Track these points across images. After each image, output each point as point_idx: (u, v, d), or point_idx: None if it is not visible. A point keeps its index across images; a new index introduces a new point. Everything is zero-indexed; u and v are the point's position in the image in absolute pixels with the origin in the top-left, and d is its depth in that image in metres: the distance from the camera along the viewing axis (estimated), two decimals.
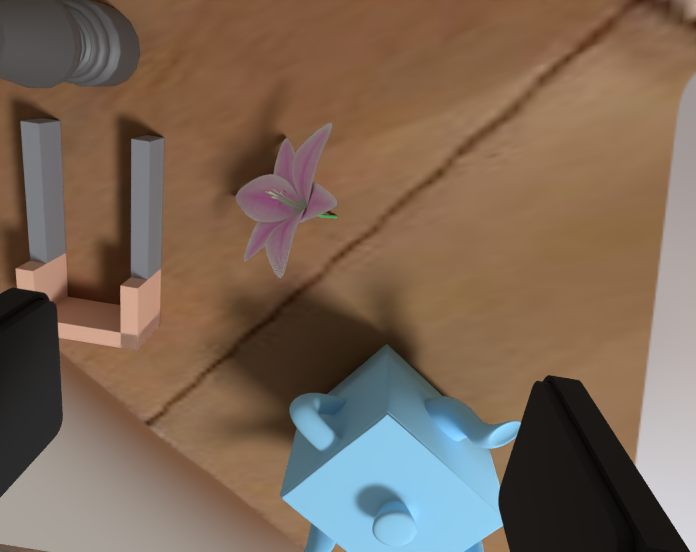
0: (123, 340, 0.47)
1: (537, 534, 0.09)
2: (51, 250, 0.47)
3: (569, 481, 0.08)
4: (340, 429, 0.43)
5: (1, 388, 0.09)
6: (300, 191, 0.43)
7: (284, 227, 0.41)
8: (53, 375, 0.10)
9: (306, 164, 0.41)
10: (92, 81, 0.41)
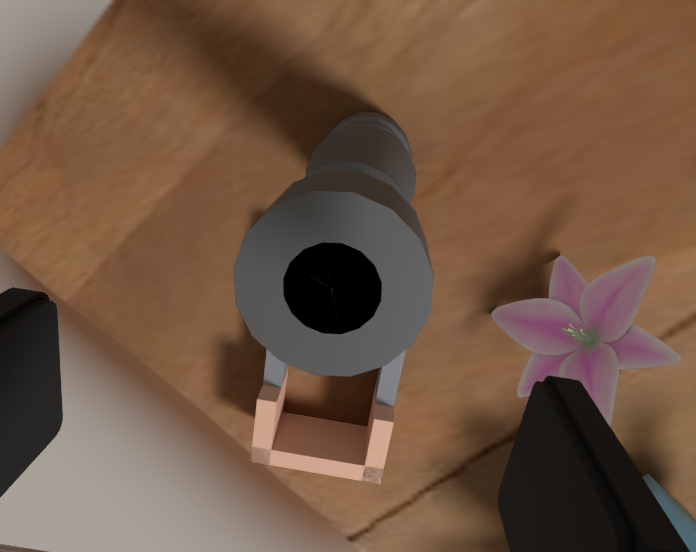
0: (366, 473, 0.42)
1: (537, 534, 0.09)
2: (284, 372, 0.43)
3: (569, 481, 0.08)
4: None
5: (1, 388, 0.09)
6: (590, 322, 0.38)
7: (584, 369, 0.36)
8: (53, 375, 0.10)
9: (614, 299, 0.36)
10: None
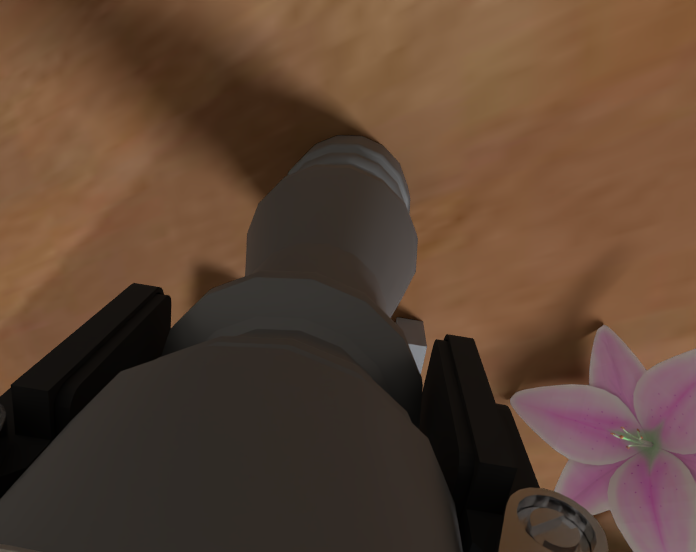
0: None
1: None
2: None
3: (443, 420, 0.09)
4: None
5: None
6: (648, 421, 0.28)
7: (646, 492, 0.26)
8: None
9: (687, 397, 0.26)
10: None
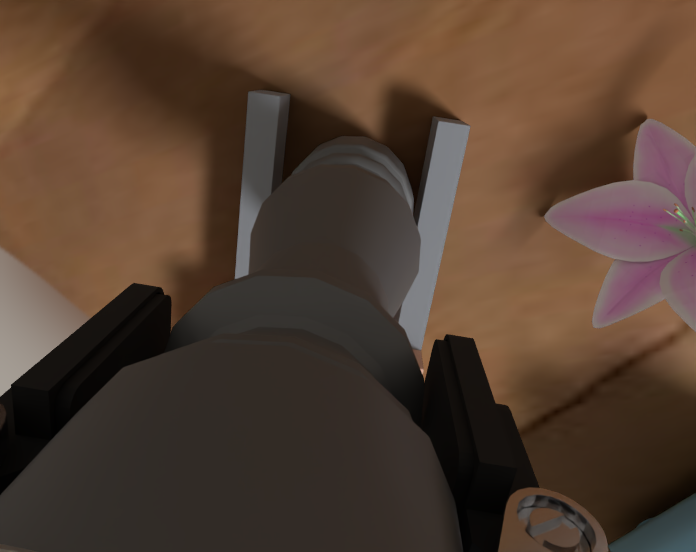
0: None
1: None
2: None
3: (443, 420, 0.09)
4: None
5: None
6: None
7: None
8: None
9: None
10: None
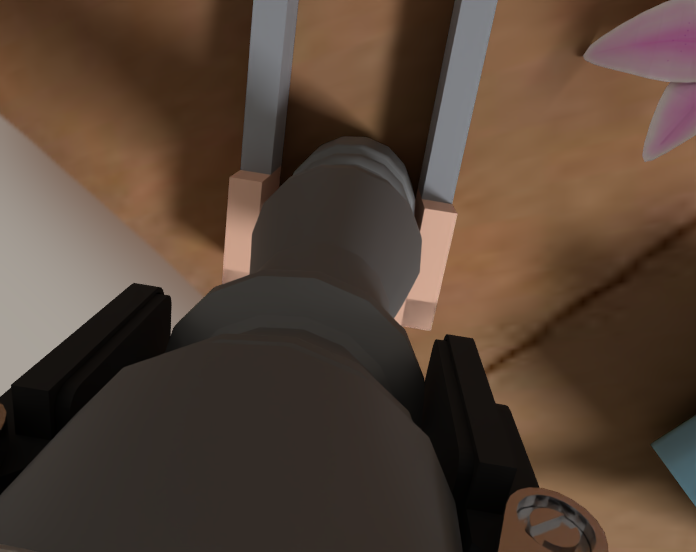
0: (408, 312, 0.26)
1: None
2: (275, 152, 0.26)
3: (443, 420, 0.09)
4: None
5: None
6: None
7: None
8: None
9: None
10: None
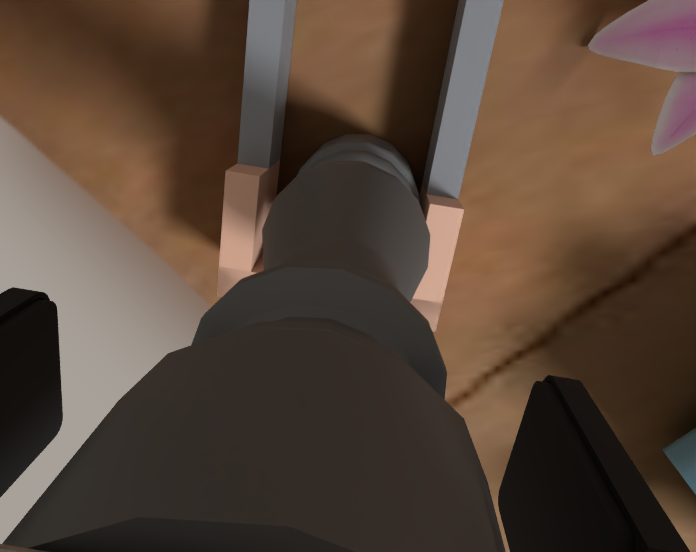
0: None
1: (537, 534, 0.09)
2: (274, 145, 0.25)
3: (569, 481, 0.08)
4: None
5: (1, 389, 0.09)
6: None
7: None
8: (53, 375, 0.10)
9: None
10: None
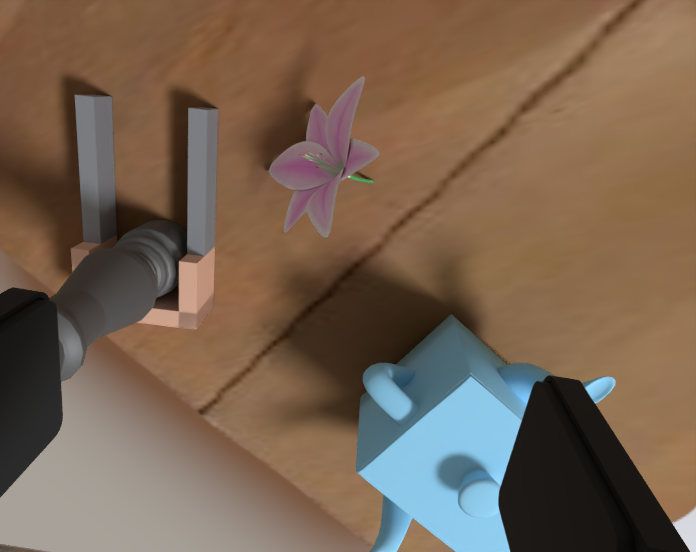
0: (181, 319, 0.45)
1: (537, 534, 0.09)
2: (104, 230, 0.46)
3: (569, 481, 0.08)
4: (415, 399, 0.41)
5: (1, 388, 0.09)
6: (336, 154, 0.42)
7: (324, 189, 0.40)
8: (53, 375, 0.10)
9: (341, 122, 0.40)
10: None
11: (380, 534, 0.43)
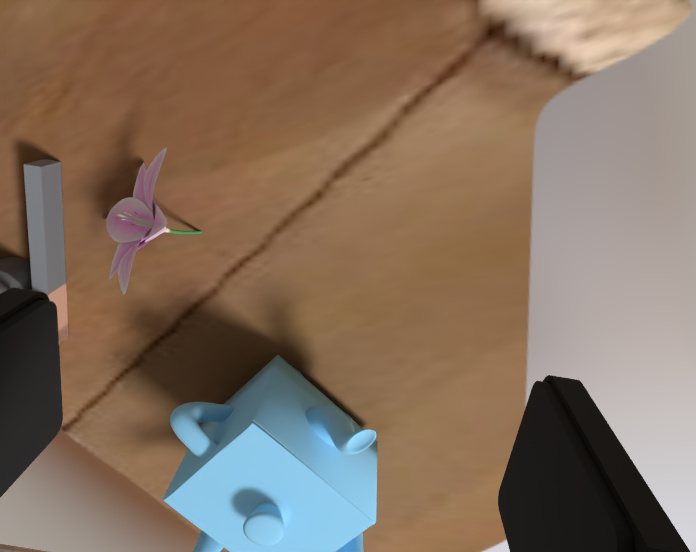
0: None
1: (537, 534, 0.09)
2: None
3: (569, 481, 0.08)
4: (220, 436, 0.46)
5: (1, 388, 0.09)
6: (154, 212, 0.46)
7: (135, 246, 0.44)
8: (53, 375, 0.10)
9: (150, 187, 0.44)
10: None
11: None
